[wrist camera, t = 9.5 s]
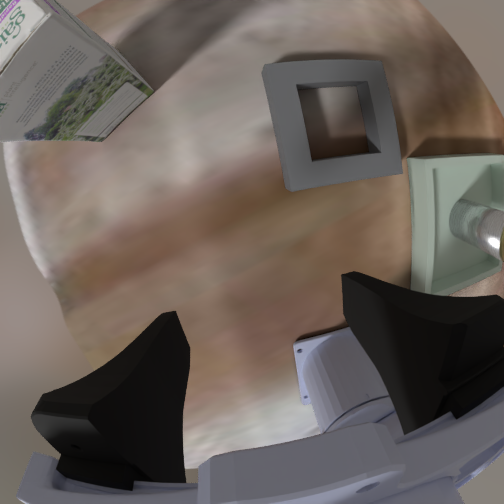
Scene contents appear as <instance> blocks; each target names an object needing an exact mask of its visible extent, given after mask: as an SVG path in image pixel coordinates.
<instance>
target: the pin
mask: <svg viewBox="0 0 504 504" xmlns="http://www.w3.org/2000/svg"><path fill="white" fill-rule="evenodd" d="M449 228H450V231H451V233H452V235H453V236H454V237H456V238H458V239H460V240H462V241H464V242H466V243H468V244H470V245H472V246H474V247H476V248H478V249H480V250H482V251H484V252H486V253H488V254H490V255H492V256H493V257H495V258H497V259H499V260H501V261H503V262H504V211H501V210H498V209H495V208H492V207H489V206H486V205H483V204H479V203H476V202H473V201H470V200H466V199H460V200H458V201H457V202H456V203H455V204H454V206H453V207H452V209H451V212H450V216H449Z"/></svg>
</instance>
